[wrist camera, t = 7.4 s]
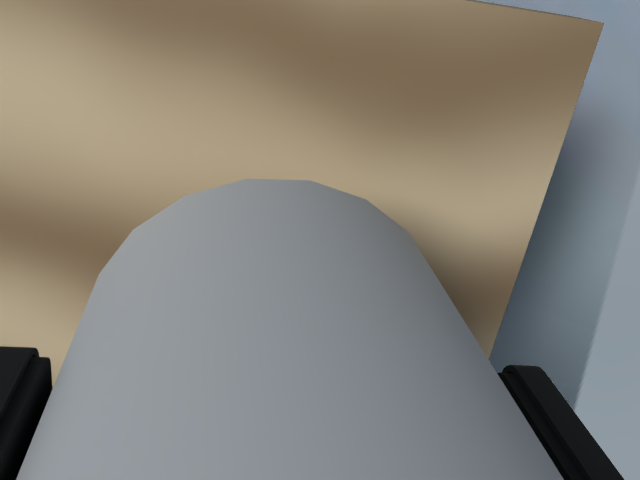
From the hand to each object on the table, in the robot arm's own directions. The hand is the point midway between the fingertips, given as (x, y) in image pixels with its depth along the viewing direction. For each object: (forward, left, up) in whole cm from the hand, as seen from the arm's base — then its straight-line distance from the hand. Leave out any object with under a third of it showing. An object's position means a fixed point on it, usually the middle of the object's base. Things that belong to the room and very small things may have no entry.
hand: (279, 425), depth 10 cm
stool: (0, 0, -13) cm, 13 cm away
